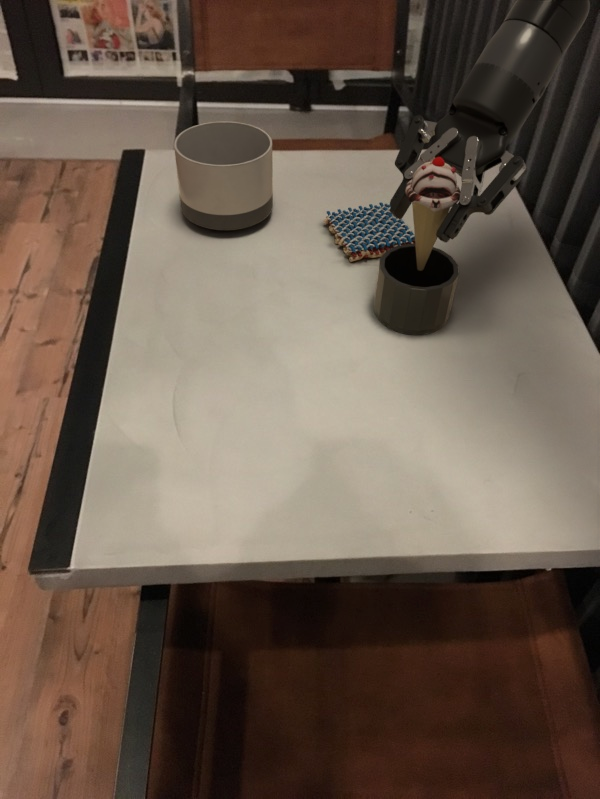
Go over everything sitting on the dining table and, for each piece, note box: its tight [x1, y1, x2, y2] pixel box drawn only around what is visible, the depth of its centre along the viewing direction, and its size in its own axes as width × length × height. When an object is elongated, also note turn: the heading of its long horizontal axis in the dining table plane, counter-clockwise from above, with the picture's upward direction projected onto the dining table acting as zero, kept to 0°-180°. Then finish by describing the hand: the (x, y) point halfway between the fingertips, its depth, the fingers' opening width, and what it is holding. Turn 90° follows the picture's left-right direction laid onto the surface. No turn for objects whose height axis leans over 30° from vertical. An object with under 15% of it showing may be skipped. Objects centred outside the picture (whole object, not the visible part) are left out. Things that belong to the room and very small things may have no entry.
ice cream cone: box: [405, 157, 461, 280], centre depth 74 cm, size 6×6×15 cm
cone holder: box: [373, 244, 460, 336], centre depth 80 cm, size 9×9×6 cm
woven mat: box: [323, 202, 415, 263], centre depth 93 cm, size 10×11×2 cm
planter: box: [173, 120, 274, 231], centre depth 93 cm, size 13×13×10 cm
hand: (417, 226), depth 73 cm, fingers closed on ice cream cone, 5 cm apart
